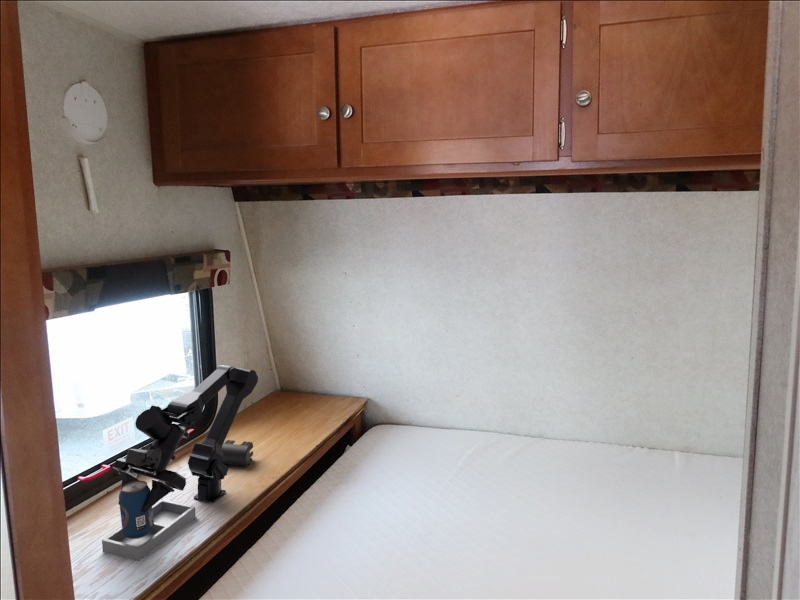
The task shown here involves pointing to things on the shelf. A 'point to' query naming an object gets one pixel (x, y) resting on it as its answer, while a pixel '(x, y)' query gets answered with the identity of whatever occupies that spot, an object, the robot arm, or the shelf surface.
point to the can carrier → (166, 524)
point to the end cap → (237, 453)
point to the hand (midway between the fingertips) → (131, 508)
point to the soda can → (135, 510)
